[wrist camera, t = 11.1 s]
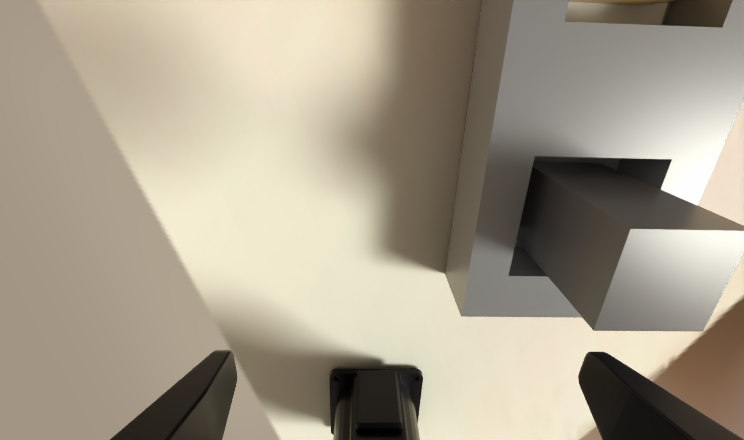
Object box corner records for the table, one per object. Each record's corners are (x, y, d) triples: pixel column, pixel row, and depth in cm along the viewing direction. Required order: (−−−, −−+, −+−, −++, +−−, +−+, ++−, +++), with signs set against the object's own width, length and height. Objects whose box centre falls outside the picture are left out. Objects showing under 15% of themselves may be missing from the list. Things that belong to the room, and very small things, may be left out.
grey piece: (602, 275, 23) (648, 317, 19) (445, 274, 22) (461, 316, 19) (773, -216, 14) (924, -318, 10) (513, -233, 13) (570, -344, 10)
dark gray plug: (579, 232, 20) (702, 331, 13) (509, 231, 20) (593, 330, 13) (600, 163, 18) (755, 231, 11) (523, 161, 18) (630, 229, 11)
